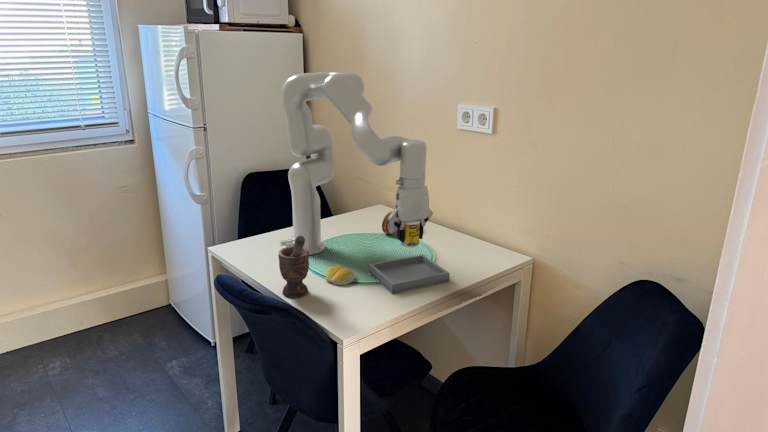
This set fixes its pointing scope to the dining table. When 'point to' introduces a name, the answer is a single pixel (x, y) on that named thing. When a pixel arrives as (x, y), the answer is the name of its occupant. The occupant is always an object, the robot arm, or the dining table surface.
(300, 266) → the mortar and pestle
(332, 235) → the dining table surface
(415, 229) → the supplement bottle
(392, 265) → the tray
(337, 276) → the bread roll
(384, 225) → the tin
